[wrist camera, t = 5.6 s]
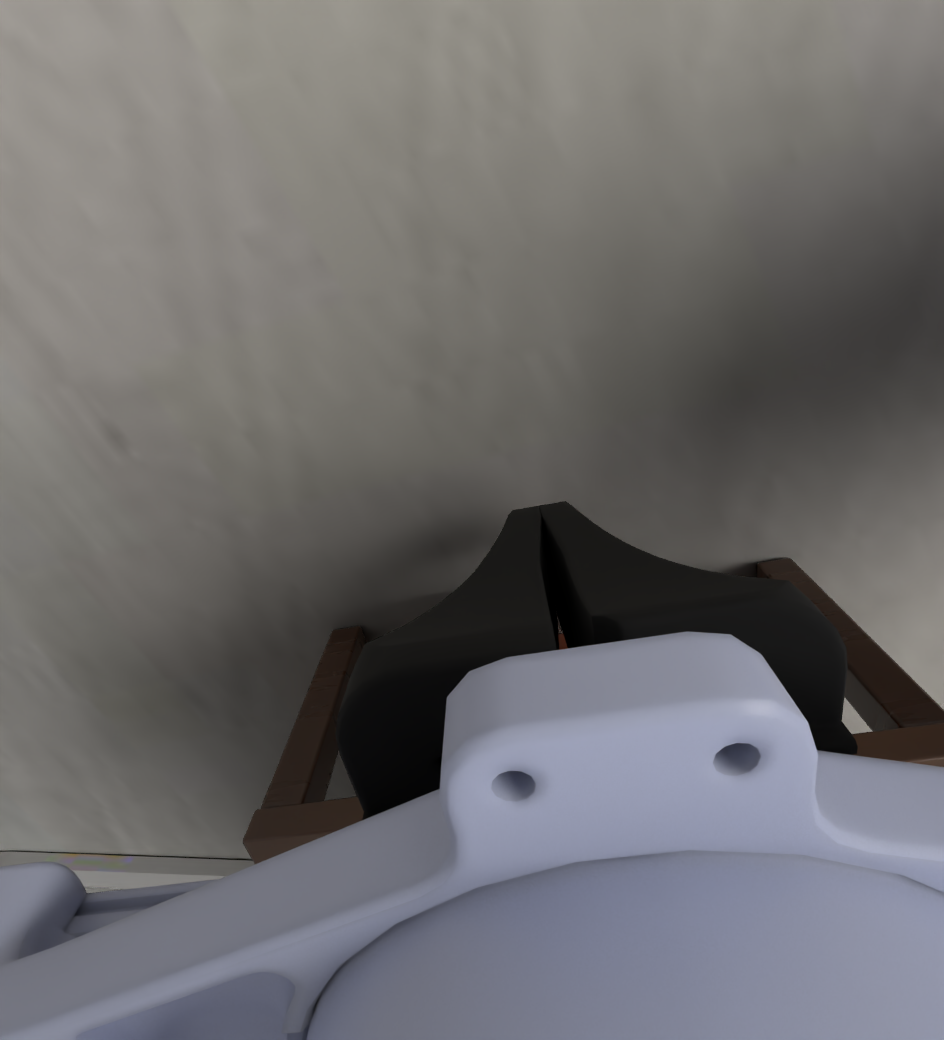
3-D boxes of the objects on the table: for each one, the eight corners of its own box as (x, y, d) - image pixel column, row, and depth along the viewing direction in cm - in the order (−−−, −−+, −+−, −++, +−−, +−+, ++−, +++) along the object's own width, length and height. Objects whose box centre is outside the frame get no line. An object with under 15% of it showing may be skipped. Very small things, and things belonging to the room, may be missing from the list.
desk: (792, 554, 15) (995, 751, 9) (782, 786, 19) (920, 1034, 13) (329, 628, 16) (240, 841, 10) (405, 831, 20) (372, 1075, 14)
